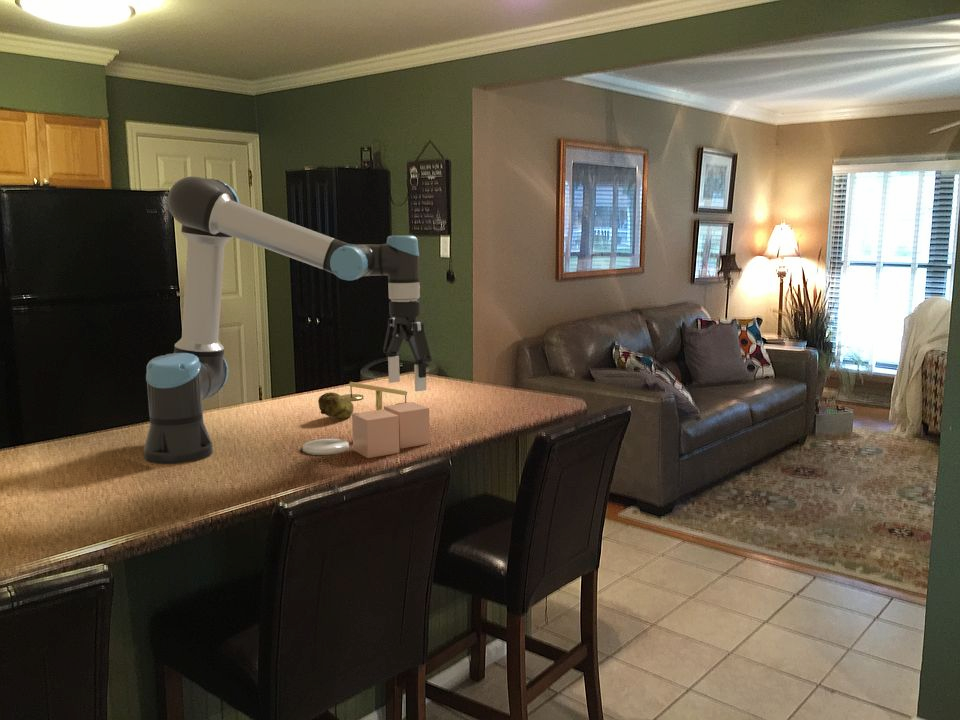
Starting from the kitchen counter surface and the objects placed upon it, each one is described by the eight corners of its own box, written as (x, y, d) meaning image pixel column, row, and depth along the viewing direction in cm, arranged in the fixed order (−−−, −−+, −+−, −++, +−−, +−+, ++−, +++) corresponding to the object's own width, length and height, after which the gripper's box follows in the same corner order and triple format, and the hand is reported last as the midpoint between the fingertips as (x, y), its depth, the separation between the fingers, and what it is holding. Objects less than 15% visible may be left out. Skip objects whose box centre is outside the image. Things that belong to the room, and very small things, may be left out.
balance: (346, 442, 200) (344, 385, 198) (336, 437, 205) (334, 381, 202) (421, 430, 212) (420, 376, 209) (410, 426, 217) (409, 373, 214)
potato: (365, 416, 228) (364, 389, 226) (329, 425, 218) (328, 396, 217) (346, 412, 233) (345, 385, 232) (310, 420, 223) (309, 392, 222)
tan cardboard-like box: (368, 458, 187) (367, 420, 185) (353, 450, 194) (352, 413, 192) (399, 452, 191) (398, 415, 190) (383, 445, 198) (382, 409, 196)
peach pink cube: (400, 448, 195) (399, 412, 193) (384, 441, 201) (383, 406, 200) (429, 443, 199) (429, 408, 198) (413, 436, 206) (412, 402, 204)
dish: (313, 457, 187) (313, 453, 187) (295, 447, 196) (295, 443, 196) (356, 450, 193) (356, 446, 193) (337, 440, 202) (337, 436, 202)
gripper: (444, 302, 186) (446, 392, 190) (394, 295, 207) (397, 377, 210) (416, 304, 182) (418, 396, 186) (367, 297, 203) (370, 380, 206)
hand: (407, 386), depth 198 cm, fingers open, 13 cm apart
